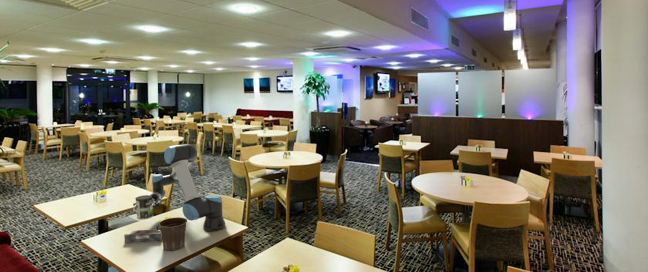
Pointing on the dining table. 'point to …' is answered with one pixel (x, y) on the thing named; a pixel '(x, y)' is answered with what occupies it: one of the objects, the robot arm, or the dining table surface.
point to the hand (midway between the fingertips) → (142, 208)
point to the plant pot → (173, 233)
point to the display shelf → (143, 236)
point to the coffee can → (144, 207)
